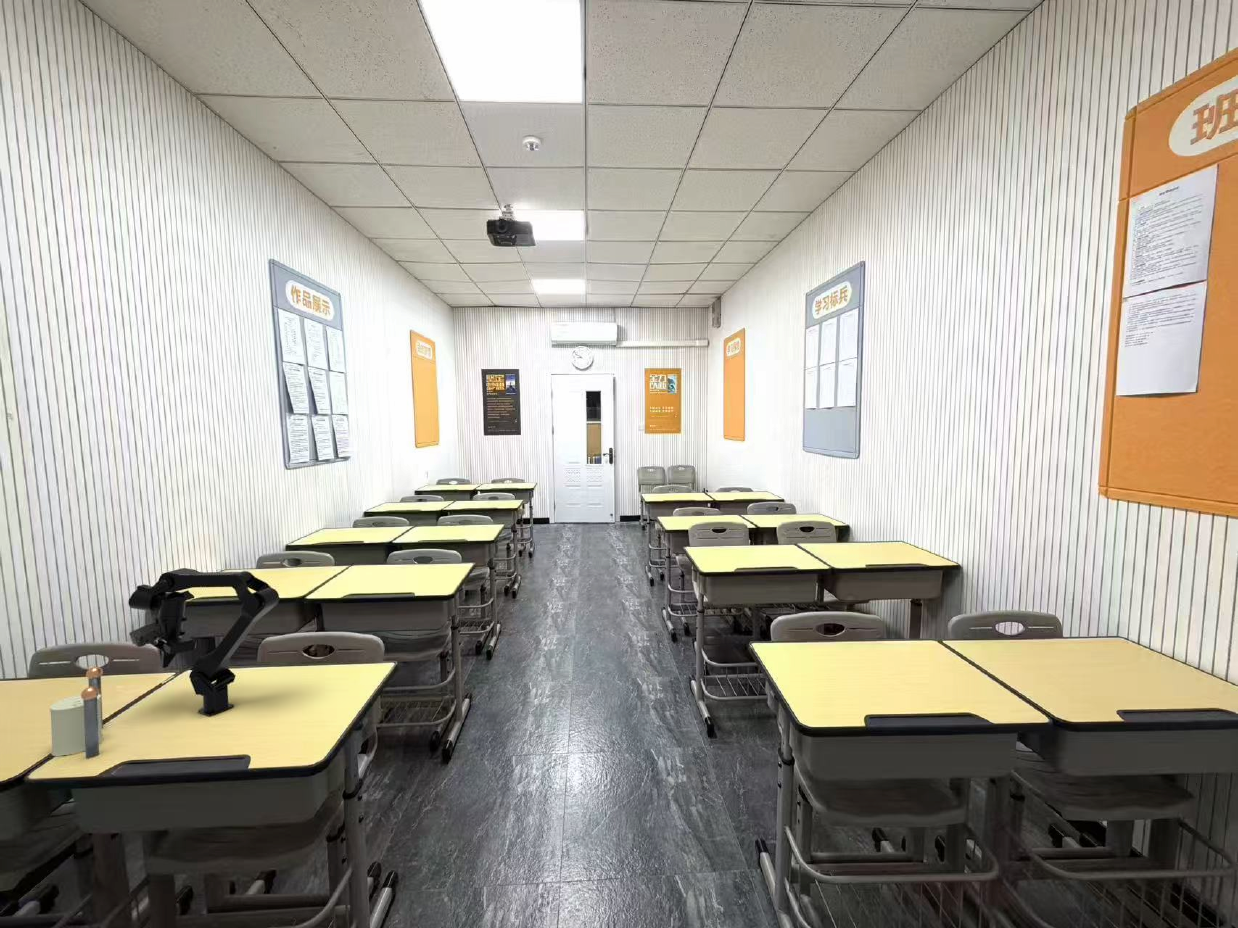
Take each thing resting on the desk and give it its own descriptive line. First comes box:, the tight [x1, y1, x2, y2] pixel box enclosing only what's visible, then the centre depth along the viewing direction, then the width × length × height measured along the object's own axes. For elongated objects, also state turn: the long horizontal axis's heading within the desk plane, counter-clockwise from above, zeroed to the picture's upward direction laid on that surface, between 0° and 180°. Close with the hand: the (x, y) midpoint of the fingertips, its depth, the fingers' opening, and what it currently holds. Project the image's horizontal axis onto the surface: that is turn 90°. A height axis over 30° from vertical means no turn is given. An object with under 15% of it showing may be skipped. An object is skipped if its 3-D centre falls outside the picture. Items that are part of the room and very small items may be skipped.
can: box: [49, 694, 104, 757], centre depth 136 cm, size 9×9×12 cm
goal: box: [80, 666, 104, 759], centre depth 138 cm, size 20×3×17 cm, turn 42°
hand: (164, 667), depth 155 cm, fingers closed
